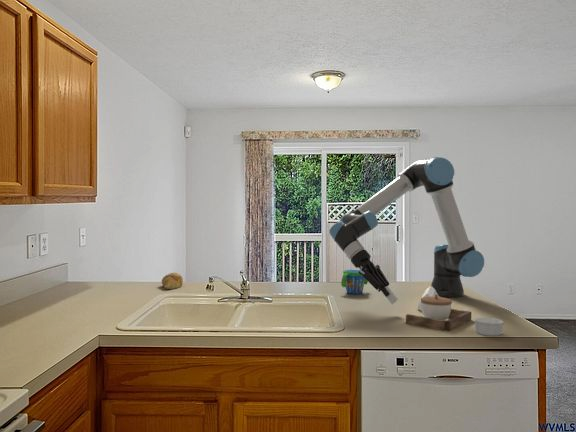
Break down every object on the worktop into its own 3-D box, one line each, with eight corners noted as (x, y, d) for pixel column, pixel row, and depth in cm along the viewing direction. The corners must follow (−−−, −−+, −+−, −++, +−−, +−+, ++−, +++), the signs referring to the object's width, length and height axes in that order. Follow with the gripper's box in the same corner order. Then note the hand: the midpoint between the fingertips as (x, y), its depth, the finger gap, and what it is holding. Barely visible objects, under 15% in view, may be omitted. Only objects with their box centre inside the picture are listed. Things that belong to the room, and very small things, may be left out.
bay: (405, 323, 176) (406, 314, 176) (430, 313, 192) (430, 305, 192) (448, 331, 166) (449, 322, 166) (471, 319, 183) (471, 311, 183)
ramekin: (470, 329, 170) (470, 316, 170) (496, 329, 169) (497, 317, 169) (479, 336, 161) (479, 323, 161) (507, 337, 161) (508, 323, 160)
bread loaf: (173, 298, 233) (181, 283, 233) (154, 287, 233) (162, 272, 233) (182, 289, 255) (189, 275, 254) (164, 279, 254) (172, 265, 254)
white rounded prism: (417, 291, 219) (412, 301, 196) (432, 284, 217) (428, 293, 194) (426, 306, 218) (421, 318, 195) (441, 299, 215) (438, 311, 193)
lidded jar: (446, 325, 174) (447, 298, 173) (416, 321, 179) (416, 295, 179) (454, 319, 183) (455, 294, 182) (425, 315, 188) (426, 291, 188)
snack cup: (359, 289, 242) (359, 268, 241) (374, 293, 233) (375, 271, 233) (334, 292, 233) (334, 270, 233) (349, 296, 224) (349, 273, 224)
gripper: (360, 259, 207) (396, 305, 197) (342, 262, 197) (380, 310, 187) (371, 247, 204) (409, 293, 194) (354, 249, 194) (393, 298, 184)
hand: (395, 301), depth 190 cm, fingers closed
